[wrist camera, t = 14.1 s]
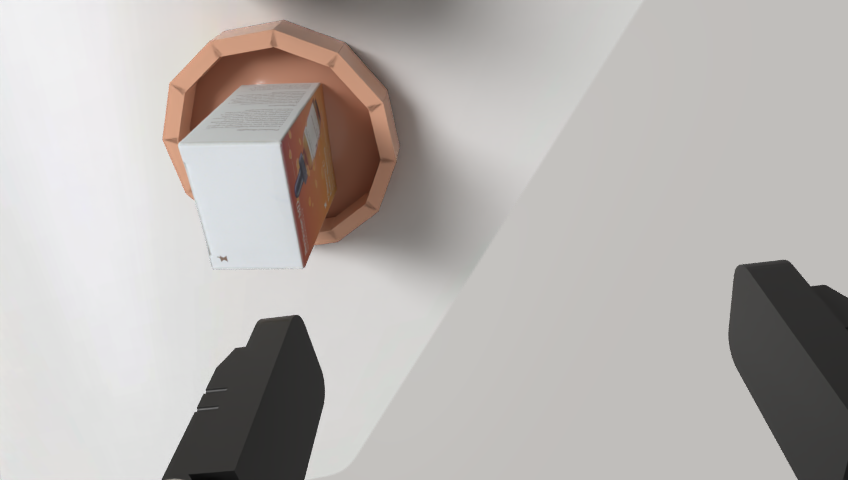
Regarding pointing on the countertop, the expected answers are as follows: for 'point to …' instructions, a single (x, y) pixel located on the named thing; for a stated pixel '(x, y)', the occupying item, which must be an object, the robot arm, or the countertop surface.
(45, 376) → the countertop surface
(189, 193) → the round tray
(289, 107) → the small box
